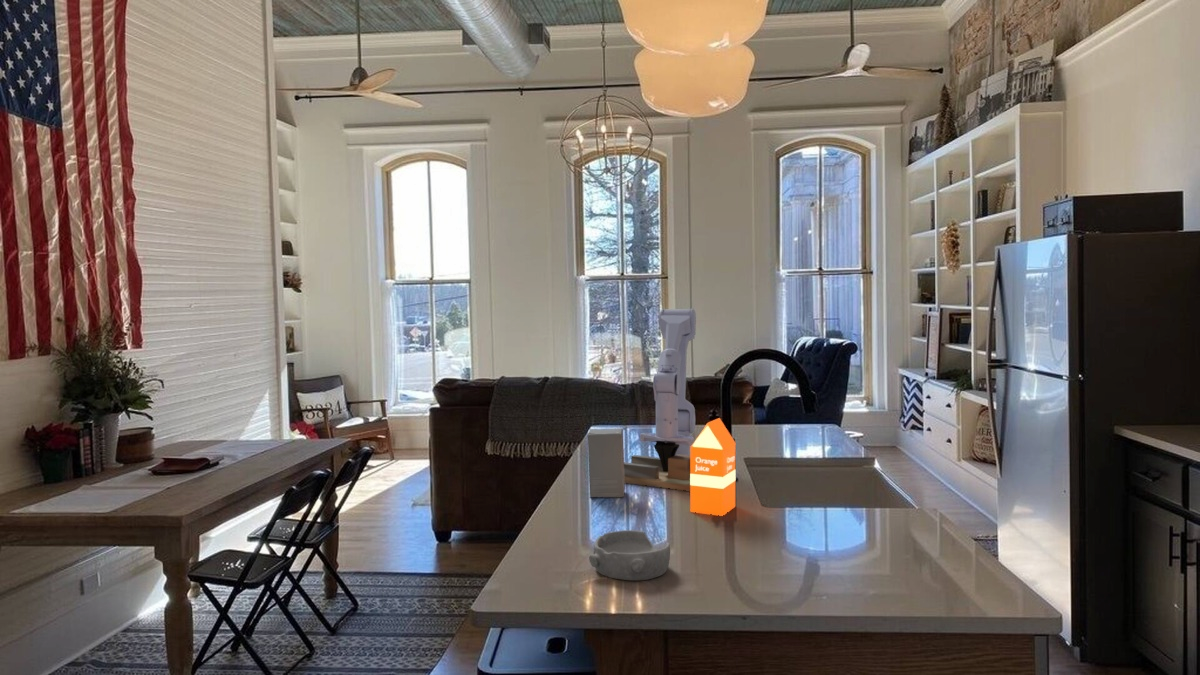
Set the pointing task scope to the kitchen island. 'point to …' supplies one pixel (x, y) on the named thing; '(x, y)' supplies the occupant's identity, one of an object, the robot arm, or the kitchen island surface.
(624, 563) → the dish
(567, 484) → the kitchen island surface
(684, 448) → the robot arm
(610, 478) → the skincare box
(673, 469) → the walnut block
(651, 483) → the chute board
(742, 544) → the kitchen island surface
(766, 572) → the kitchen island surface
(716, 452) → the orange juice
